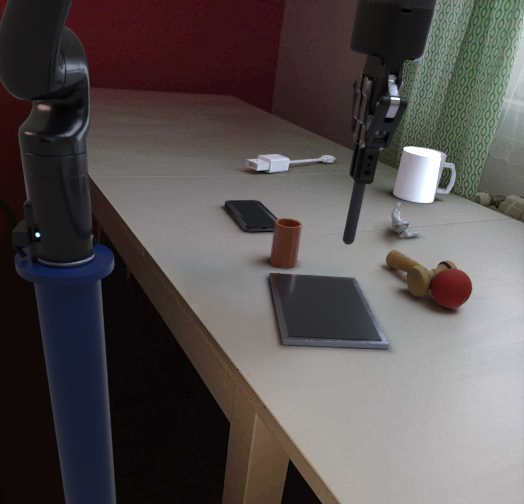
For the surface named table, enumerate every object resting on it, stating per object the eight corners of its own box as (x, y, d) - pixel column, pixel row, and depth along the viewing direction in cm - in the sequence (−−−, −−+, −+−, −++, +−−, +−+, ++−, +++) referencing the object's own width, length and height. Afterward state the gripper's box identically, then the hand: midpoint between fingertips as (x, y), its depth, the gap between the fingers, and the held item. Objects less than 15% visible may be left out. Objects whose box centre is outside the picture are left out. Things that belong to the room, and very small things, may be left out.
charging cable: (339, 166, 155) (341, 154, 153) (257, 174, 134) (259, 160, 133) (326, 162, 158) (328, 150, 156) (244, 169, 137) (245, 155, 135)
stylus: (343, 246, 65) (366, 133, 58) (340, 241, 66) (363, 130, 59) (354, 246, 65) (378, 134, 58) (351, 242, 66) (375, 131, 59)
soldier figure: (415, 230, 115) (430, 232, 103) (396, 244, 116) (408, 248, 104) (394, 200, 113) (407, 199, 102) (375, 214, 114) (385, 215, 103)
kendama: (368, 275, 93) (438, 312, 78) (378, 239, 91) (452, 270, 76) (402, 279, 97) (475, 314, 82) (413, 244, 95) (490, 275, 80)
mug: (444, 195, 137) (457, 152, 131) (450, 207, 129) (464, 161, 123) (391, 187, 138) (401, 144, 132) (394, 199, 130) (405, 153, 124)
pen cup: (271, 267, 89) (276, 226, 85) (269, 256, 93) (273, 217, 89) (297, 268, 89) (303, 228, 86) (294, 258, 93) (299, 219, 89)
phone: (258, 199, 114) (284, 225, 103) (258, 205, 115) (283, 230, 103) (223, 200, 112) (245, 226, 100) (222, 205, 112) (245, 232, 101)
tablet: (282, 344, 69) (283, 338, 69) (268, 277, 86) (269, 271, 85) (387, 349, 71) (389, 343, 70) (354, 281, 87) (355, 276, 87)
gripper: (344, -5, 57) (318, 162, 67) (377, -4, 46) (340, 196, 55) (412, 4, 58) (376, 167, 68) (460, 6, 47) (409, 202, 56)
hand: (360, 180), depth 61 cm, fingers closed on stylus, 1 cm apart
